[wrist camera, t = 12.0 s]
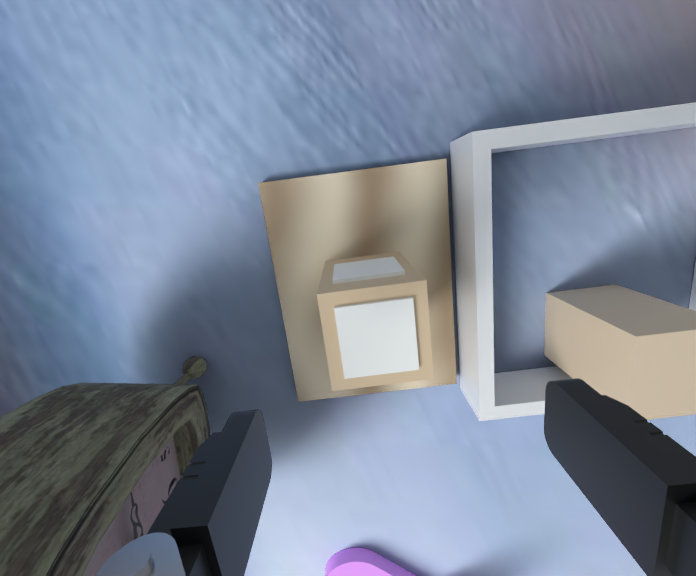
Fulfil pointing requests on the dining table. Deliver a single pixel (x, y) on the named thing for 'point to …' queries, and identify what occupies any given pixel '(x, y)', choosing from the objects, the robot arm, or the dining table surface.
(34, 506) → the tabletop clock
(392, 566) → the bracket
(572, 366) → the plain box
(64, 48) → the dining table surface
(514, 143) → the bin
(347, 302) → the labelled box
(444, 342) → the board
